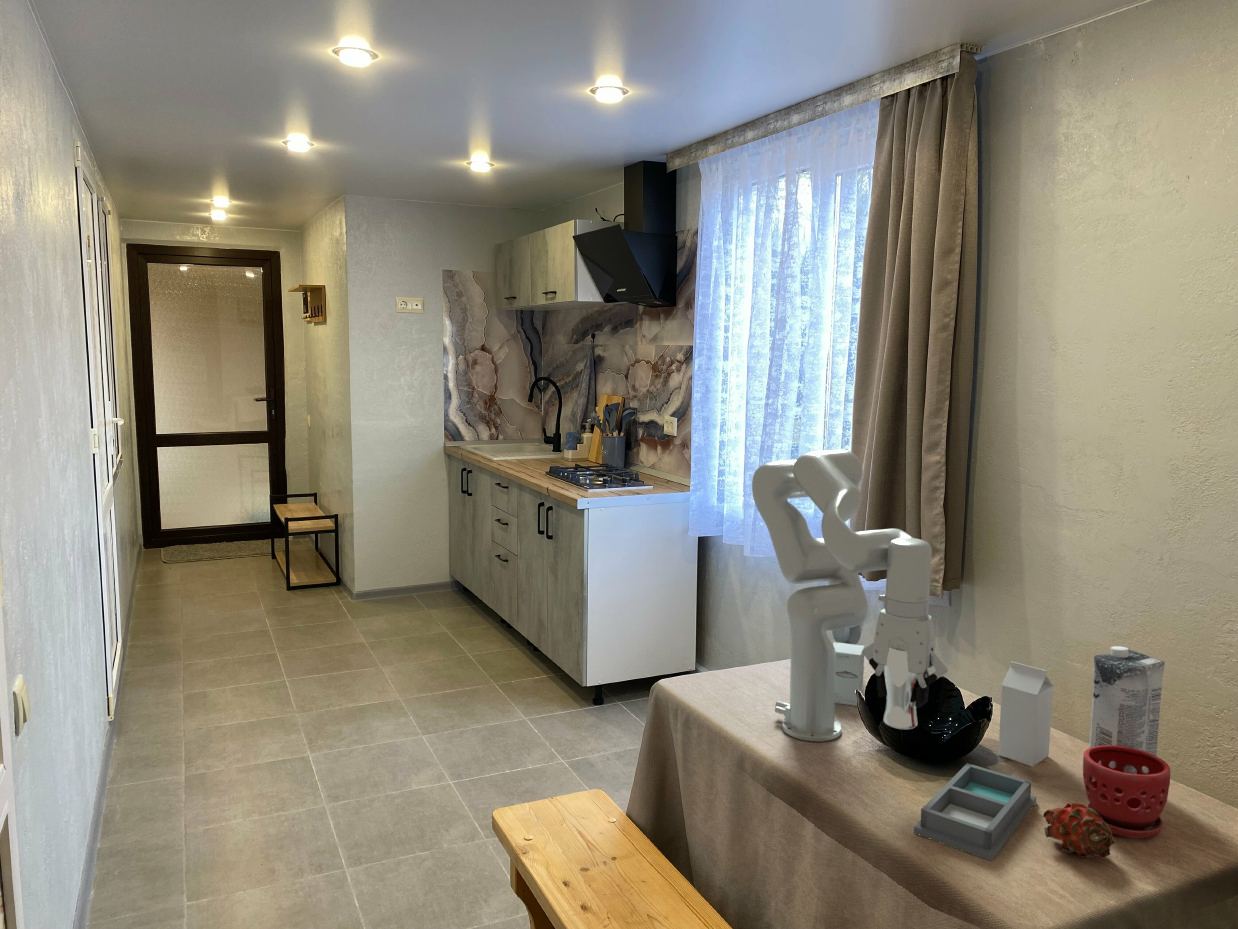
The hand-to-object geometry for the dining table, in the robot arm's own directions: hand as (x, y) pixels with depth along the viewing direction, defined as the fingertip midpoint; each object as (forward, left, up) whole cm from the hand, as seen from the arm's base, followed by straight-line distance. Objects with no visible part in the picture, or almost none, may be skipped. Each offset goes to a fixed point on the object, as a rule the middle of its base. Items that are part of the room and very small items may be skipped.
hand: (901, 699), depth 166 cm
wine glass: (-34, +48, -18) cm, 62 cm away
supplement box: (-27, +34, -18) cm, 47 cm away
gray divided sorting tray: (+15, 0, -18) cm, 23 cm away
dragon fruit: (+31, 0, -18) cm, 36 cm away
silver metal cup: (0, 0, -5) cm, 5 cm away
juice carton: (+32, +27, -18) cm, 45 cm away
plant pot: (+35, +14, -18) cm, 41 cm away
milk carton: (+14, +30, -18) cm, 37 cm away
